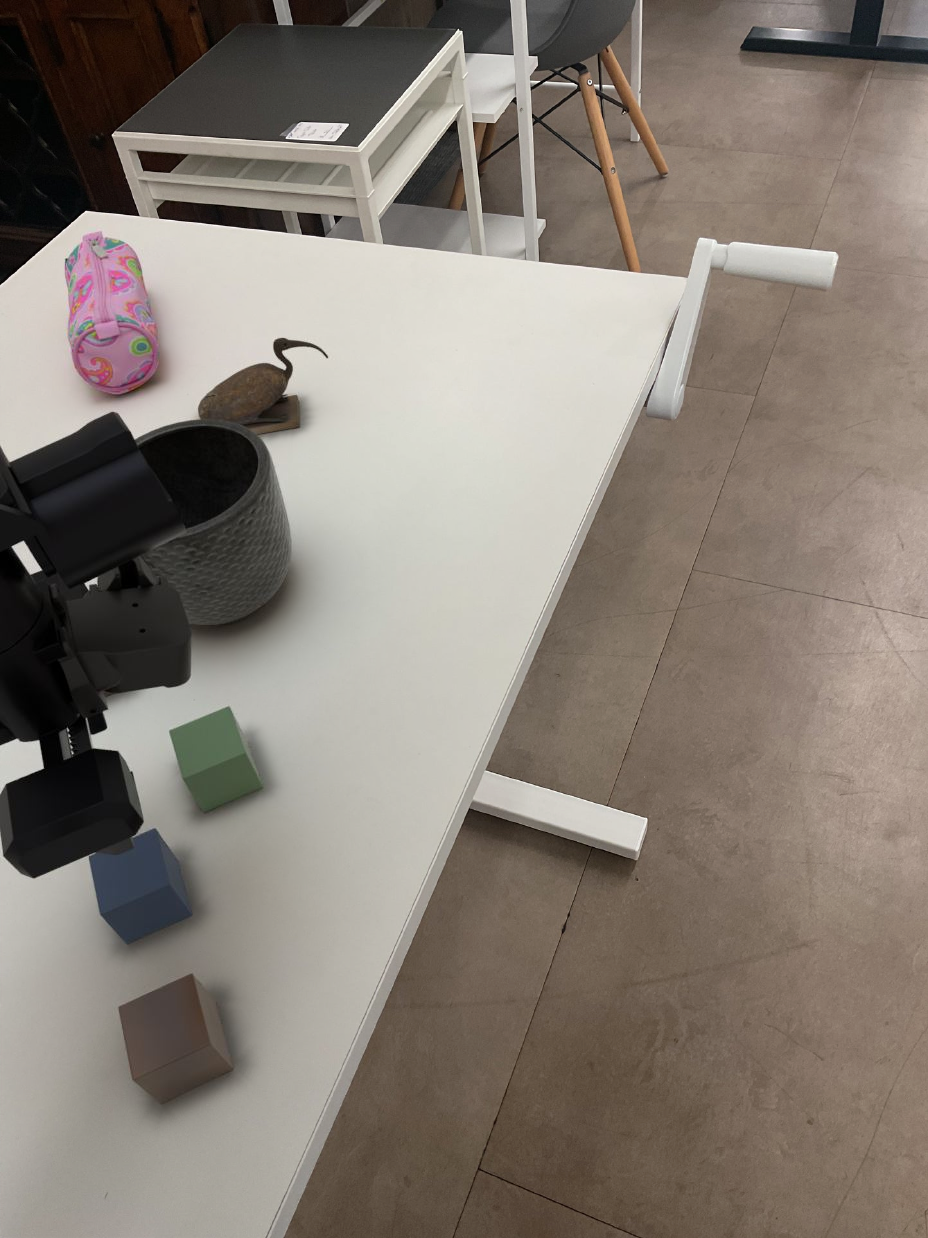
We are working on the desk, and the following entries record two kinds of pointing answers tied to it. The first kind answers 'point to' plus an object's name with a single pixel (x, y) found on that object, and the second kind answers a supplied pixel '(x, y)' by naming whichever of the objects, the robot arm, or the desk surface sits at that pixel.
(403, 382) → the desk surface
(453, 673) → the desk surface
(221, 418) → the figurine
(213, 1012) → the near walnut block
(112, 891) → the blue block
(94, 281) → the pencil case
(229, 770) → the green block
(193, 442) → the planter
